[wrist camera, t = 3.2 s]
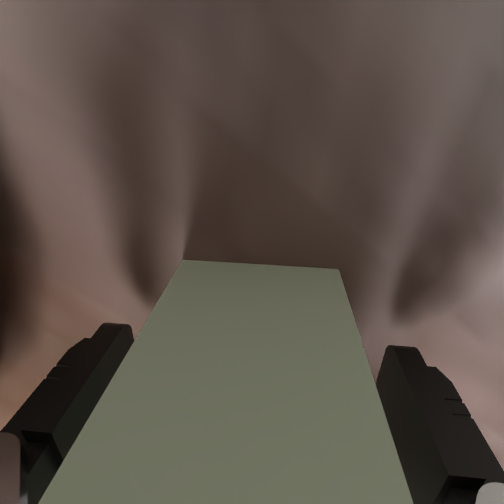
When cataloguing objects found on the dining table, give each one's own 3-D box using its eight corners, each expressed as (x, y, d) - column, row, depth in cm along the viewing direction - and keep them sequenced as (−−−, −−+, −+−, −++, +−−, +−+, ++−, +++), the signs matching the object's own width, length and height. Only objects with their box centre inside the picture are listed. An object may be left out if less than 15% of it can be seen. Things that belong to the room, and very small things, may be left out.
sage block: (182, 259, 10) (28, 520, 4) (338, 268, 10) (434, 570, 4) (192, 369, 12) (104, 644, 6) (319, 380, 12) (358, 681, 6)
